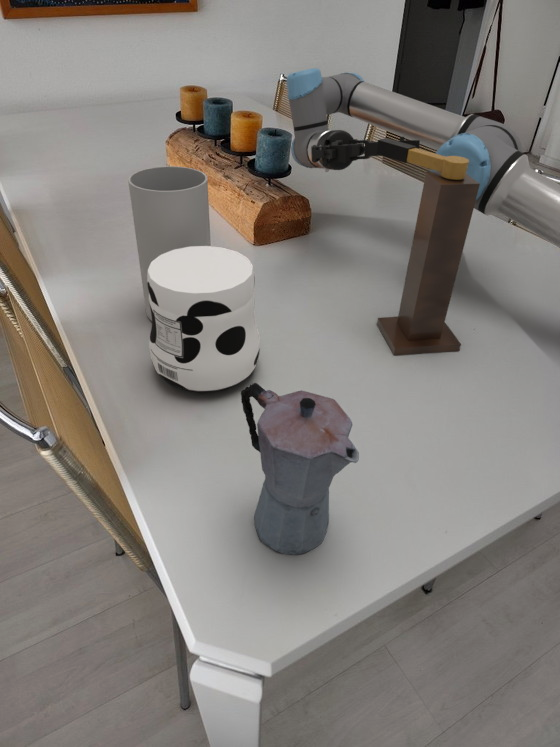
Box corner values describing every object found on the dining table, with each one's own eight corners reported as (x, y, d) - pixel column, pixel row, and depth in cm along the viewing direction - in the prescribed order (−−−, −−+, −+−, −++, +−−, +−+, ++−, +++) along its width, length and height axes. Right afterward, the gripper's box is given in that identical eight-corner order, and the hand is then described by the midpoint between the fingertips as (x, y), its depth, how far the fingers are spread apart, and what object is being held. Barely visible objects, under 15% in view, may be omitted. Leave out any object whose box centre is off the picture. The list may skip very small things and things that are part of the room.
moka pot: (318, 588, 58) (336, 459, 46) (213, 515, 66) (204, 386, 53) (363, 530, 65) (389, 402, 52) (262, 469, 72) (264, 344, 60)
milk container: (258, 338, 96) (260, 243, 85) (260, 402, 82) (262, 298, 72) (160, 338, 95) (148, 241, 84) (145, 402, 81) (129, 297, 71)
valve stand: (437, 320, 103) (475, 166, 86) (459, 351, 95) (505, 187, 78) (376, 324, 101) (402, 167, 84) (393, 355, 93) (426, 189, 76)
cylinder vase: (137, 326, 98) (115, 187, 83) (158, 293, 108) (143, 163, 93) (204, 333, 97) (195, 194, 82) (220, 299, 107) (215, 169, 91)
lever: (387, 151, 90) (389, 136, 88) (469, 176, 81) (474, 160, 79) (372, 155, 88) (375, 139, 86) (456, 181, 79) (460, 164, 77)
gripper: (385, 164, 117) (443, 168, 99) (276, 174, 110) (317, 180, 92) (386, 126, 114) (446, 123, 96) (274, 134, 107) (315, 131, 89)
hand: (383, 151), depth 94 cm, fingers open, 13 cm apart
